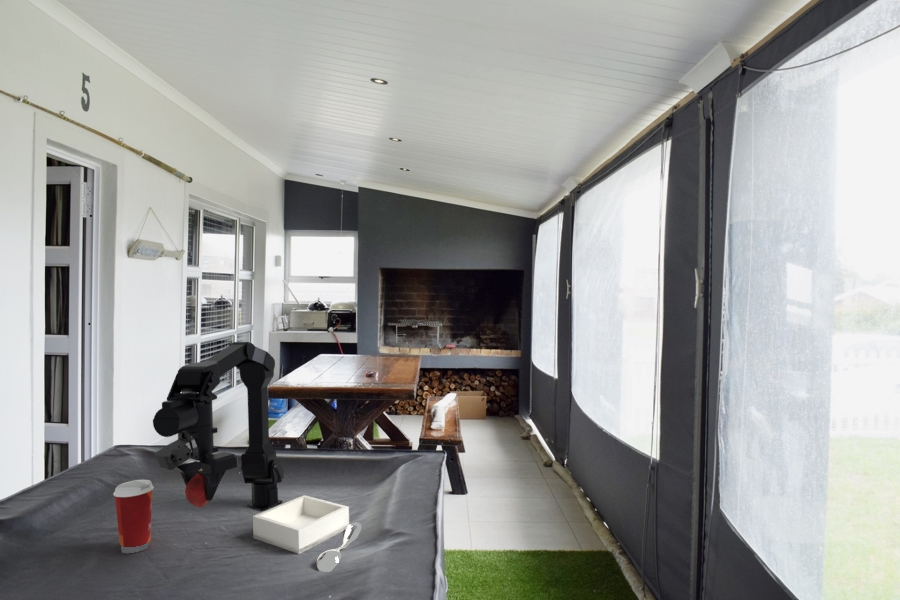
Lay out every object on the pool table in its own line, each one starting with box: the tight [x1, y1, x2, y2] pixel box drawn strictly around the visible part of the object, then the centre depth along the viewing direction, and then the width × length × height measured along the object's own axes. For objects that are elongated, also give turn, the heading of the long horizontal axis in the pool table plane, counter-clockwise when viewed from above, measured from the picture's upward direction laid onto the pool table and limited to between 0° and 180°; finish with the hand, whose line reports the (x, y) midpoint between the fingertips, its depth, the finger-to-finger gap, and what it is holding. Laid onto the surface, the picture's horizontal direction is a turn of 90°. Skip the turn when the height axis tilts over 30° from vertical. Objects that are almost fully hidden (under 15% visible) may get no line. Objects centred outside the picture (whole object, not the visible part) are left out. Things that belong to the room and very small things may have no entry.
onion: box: [184, 468, 210, 509], centre depth 119 cm, size 6×6×8 cm
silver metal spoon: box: [316, 521, 362, 573], centre depth 119 cm, size 20×4×5 cm
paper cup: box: [112, 479, 155, 547], centre depth 122 cm, size 8×8×14 cm
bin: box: [252, 494, 350, 555], centre depth 128 cm, size 15×15×5 cm
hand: (200, 497), depth 119 cm, fingers closed on onion, 6 cm apart
